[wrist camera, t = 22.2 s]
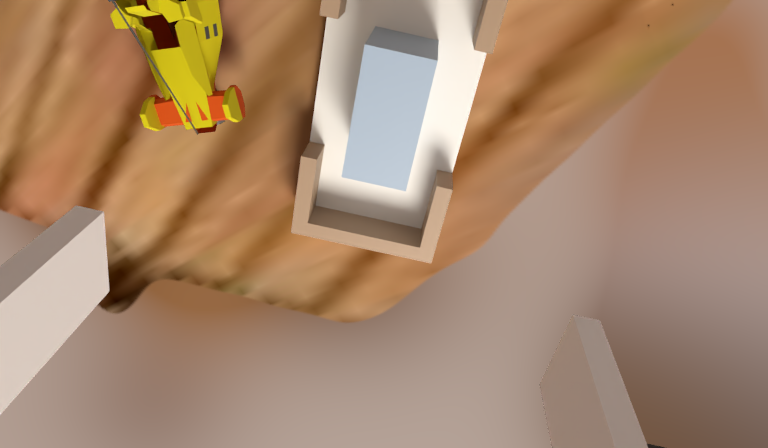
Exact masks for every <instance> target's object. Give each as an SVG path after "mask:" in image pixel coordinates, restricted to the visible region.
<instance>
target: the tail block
mask: <svg viewBox="0 0 768 448" xmlns="http://www.w3.org/2000/svg"><path fill="white" fill-rule="evenodd" d="M438 44H439V40H434V39H430V38H426V37H421V36H417V35H412V34H408V33H403V32H399V31H395V30H390V29H386V28H381V27H377V26H375V28H374V30H373V31H372V33H371V35H370V36H369V38H368V40H367V41H366V43H365V45H364V51H363V57H362V62H361V68H360V74H359V80H358V85H357V91H356V97H355V102H354V108H353V114H352V120H351V125H350V131H349V137H348V142H347V148H346V154H345V160H344V165H343V171H342V177H343V178H348V179H352V180H357V181H361V182H366V183H370V184H375V185H379V186H384V187H388V188H393V189H397V190H402V191H406V189H407V184H408V180H409V176H410V172H411V168H412V164H413V160H414V156H415V152H416V148H417V144H418V139H419V135H420V131H421V127H422V123H423V119H424V115H425V111H426V107H427V103H428V98H429V94H430V90H431V86H432V82H433V78H434V74H435V70H436V66H437V62H438Z"/></svg>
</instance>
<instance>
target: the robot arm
mask: <svg viewBox="0 0 768 448" xmlns="http://www.w3.org/2000/svg"><path fill="white" fill-rule="evenodd" d="M108 292H109V279H108V264H107V250H106V236H105V221H104V212H103V211H98V210H94V209H89V208H85V207H80V206H75V207H74V208H72V209H71V210H70V211H69V212H67V213H66V214H65V215H64V216H62V217H61V218H60V219H59V220H57V221H56V222H55V223H54V224H52V225H51V226H50V227H49V228H47V229H46V230H45V231H44V232H43V233H41V234H40V235H39V236H37V237H36V238H35V239H34V240H33V241H31V242H30V243H29V244H28V245H26V246H25V247H24V248H23V249H21V250H20V251H19V252H17V253H16V254H15V255H14V256H12V257H11V258H10V259H9V260H7V261H6V262H5V263H4V264H2V265H1V266H0V415H1V413H2V412H3V411H4V410H5V409H6V408H7V407H8V406H9V404H10V403H11V402H12V401H13V400H14V399H15V398H16V396H17V395H18V394H19V393H20V392H21V391H22V390H23V388H24V387H25V386H26V385H27V384H28V383H29V382H30V380H31V379H32V378H33V377H34V376H35V375H36V374H37V372H39V370H40V369H41V368H42V367H43V366H44V365H45V363H46V362H47V361H48V360H49V359H50V358H51V357H52V356H53V354H54V353H55V352H56V351H57V350H58V349H59V348H60V347H61V345H62V344H63V343H64V342H65V341H66V340H67V339H68V338H69V336H70V335H71V334H72V333H73V332H74V331H75V329H76V328H77V327H78V326H79V325H80V324H81V323H82V322H83V320H84V319H85V318H86V317H87V316H88V315H89V314H90V313H91V311H92V310H93V309H94V308H95V307H96V306H97V305H98V303H99V302H100V301H101V300H102V299H103V298H104V297H105V296H106V294H107V293H108ZM540 389H541V394H542V400H543V405H544V409H545V415H546V419H547V425H548V430H549V434H550V440H551V445H552V448H664V447H660V446H655V445H651V444H647V443H646V441H645V438H644V436H643V433H642V430H641V428H640V425H639V423H638V420H637V417H636V414H635V412H634V409H633V406H632V404H631V401H630V399H629V396H628V393H627V391H626V388H625V385H624V383H623V380H622V377H621V375H620V372H619V370H618V367H617V364H616V362H615V359H614V357H613V354H612V351H611V348H610V346H609V343H608V341H607V338H606V336H605V333H604V330H603V327H602V325H601V322H600V320H595V319H591V318H586V317H582V316H577V315H572V317H571V319H570V322H569V324H568V326H567V328H566V330H565V332H564V334H563V336H562V338H561V340H560V343H559V345H558V347H557V349H556V351H555V353H554V355H553V357H552V359H551V361H550V363H549V366H548V368H547V370H546V372H545V374H544V376H543V378H542V380H541V382H540Z"/></svg>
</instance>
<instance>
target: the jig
mask: <svg viewBox="0 0 768 448" xmlns="http://www.w3.org/2000/svg"><path fill="white" fill-rule="evenodd" d="M507 2H508V0H321V8H320V15H321V16H325V17H327V20H326V27H325V34H324V41H323V49H322V56H321V63H320V70H319V78H318V85H317V92H316V99H315V107H314V114H313V121H312V129H311V136H310V142H309V143H308V145H307V147H306V149H305V150H304V152H303V154H302V155H301V160H300V168H299V176H298V183H297V191H296V199H295V206H294V214H293V222H292V229H291V233H295V234H300V235H304V236H309V237H313V238H318V239H322V240H327V241H331V242H336V243H340V244H345V245H350V246H354V247H359V248H363V249H368V250H372V251H377V252H381V253H386V254H391V255H395V256H400V257H404V258H409V259H413V260H418V261H422V262H427V263H431V262H432V259H433V255H434V252H435V249H436V245H437V242H438V238H439V235H440V231H441V228H442V225H443V221H444V218H445V214H446V211H447V208H448V204H449V201H450V197H451V194H452V190H453V183H452V172H453V169H454V165H455V162H456V158H457V155H458V151H459V148H460V144H461V141H462V137H463V134H464V130H465V127H466V123H467V120H468V116H469V113H470V109H471V106H472V102H473V99H474V95H475V92H476V88H477V85H478V81H479V78H480V74H481V71H482V67H483V64H484V60H485V57H486V53H489V54H493V50H494V47H495V43H496V40H497V36H498V33H499V30H500V26H501V23H502V19H503V16H504V12H505V9H506V6H507ZM375 26H377V27H381V28H386V29H390V30H395V31H399V32H403V33H408V34H412V35H417V36H421V37H426V38H430V39H434V40H439V44H438V62H437V66H436V70H435V74H434V78H433V82H432V86H431V90H430V94H429V98H428V103H427V107H426V111H425V115H424V119H423V123H422V127H421V131H420V135H419V139H418V144H417V148H416V152H415V156H414V160H413V164H412V168H411V172H410V176H409V180H408V184H407V189H406V191H402V190H397V189H393V188H388V187H384V186H379V185H375V184H370V183H366V182H361V181H357V180H352V179H348V178H343V177H342V171H343V165H344V160H345V154H346V148H347V142H348V137H349V131H350V125H351V120H352V114H353V108H354V102H355V97H356V91H357V85H358V80H359V74H360V68H361V62H362V57H363V51H364V45H365V43H366V41H367V40H368V38H369V36H370V35H371V33H372V31H373V30H374V28H375Z"/></svg>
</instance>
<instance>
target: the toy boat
mask: <svg viewBox="0 0 768 448" xmlns="http://www.w3.org/2000/svg"><path fill="white" fill-rule="evenodd" d="M108 1H109V2H110V1H112V2H113V4H114V5H115V7H116V9H115V10H114V11H113V12H112V13H111V18H112V21H113V23H114V26H115V29H124V28H129V29H130V30H131V32H132V33H133V35H134V37H135V38H136V40H137V41H138V43H139V44H140V46H141V47H142V49H143V51H144V53H145V56H146V58H147V60H148V63H149V65H150V68H151V70H152V73H153V75H154V78H155V80H156V82H157V84H158V86H159V88H160V90H161V92H162V94H163V96H164V98H160V97H159V96H157V95H151V96H150V97H149V98H147V99H146V100H145V101H144V103H143V106H142V109H141V112H140V117H141V119H142V122H143V125H144V127H145V128H148V129H151V130H154V131H159V130H162V129H163V128H165V127H166V126H175V125H184V126H185V128H186V130H187V129H194V130H195V132H196V133H197V135H198V133H206V132H215V130H216V126H217V125H218V124H221V123H223V122H225V120H228V119H229V120H231V121H233V122H239V121H241V120H242V119H243V118H244V117H245V106H244V101H243V97H242V94H241V91H240V89H239V88H238V87H237V86H236V85H231V86H230V87H229V88H228V89H227V90H224V91H215V76H216V70H217V65H218V59H219V53H220V47H221V41H222V36H223V32H222V25H221V18H220V10H219V3H218V0H186V1H182V2H180V1H178V0H108ZM114 1H116V3H117V4H118V6H117V5H116V3H115V2H114ZM166 19H167V21H168V22H169V23H170V22H174V21H178V22H177V24H176V25H175V29H176V33H175V36H174V38H173V36H172V33H171V31H170V28H169V26H168V23H167V21H166ZM131 27H134V28H135V29H136V33H137V35H138V38H139V39H138V38H137V36H136V35H135V33H134V31H133V30H132V28H131ZM139 40H140V41H139Z"/></svg>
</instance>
